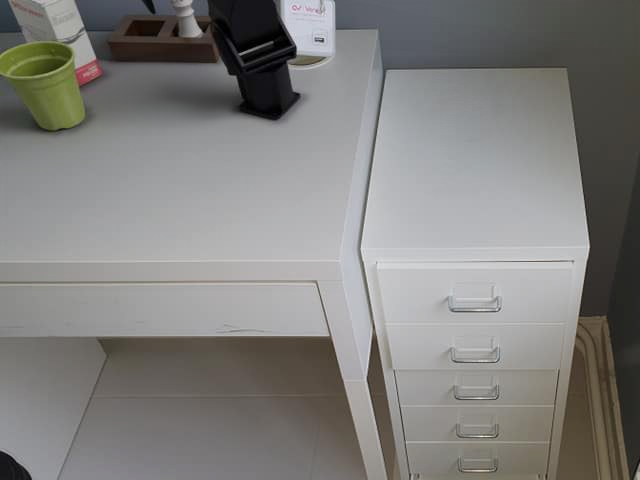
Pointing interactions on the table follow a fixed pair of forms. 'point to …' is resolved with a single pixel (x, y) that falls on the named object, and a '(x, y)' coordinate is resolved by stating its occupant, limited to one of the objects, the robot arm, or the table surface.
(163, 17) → the wooden compartment tray
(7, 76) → the plant pot
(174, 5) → the rook chess piece
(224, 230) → the table surface
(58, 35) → the ink box
